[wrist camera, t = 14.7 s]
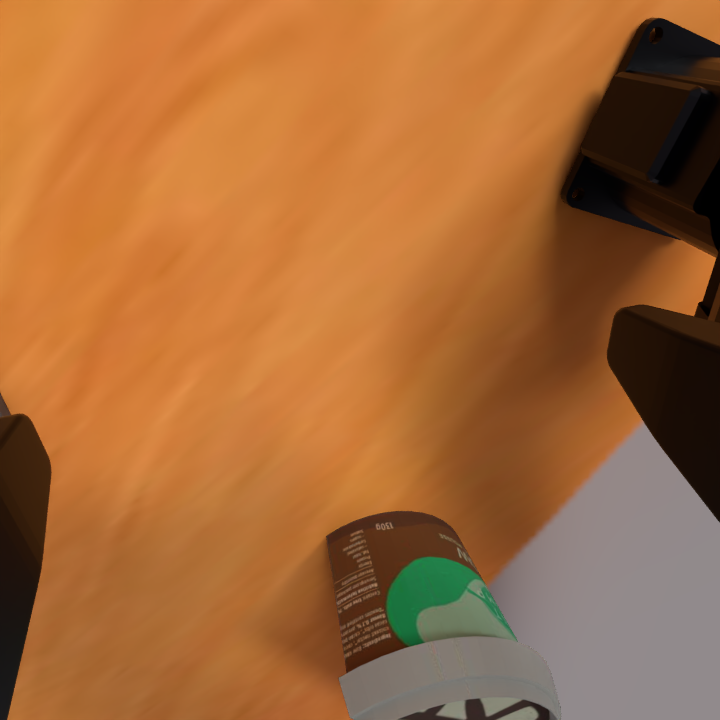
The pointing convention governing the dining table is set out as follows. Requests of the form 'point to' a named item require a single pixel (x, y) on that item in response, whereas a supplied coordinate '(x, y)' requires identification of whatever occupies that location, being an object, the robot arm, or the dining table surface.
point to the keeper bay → (3, 408)
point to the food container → (427, 629)
